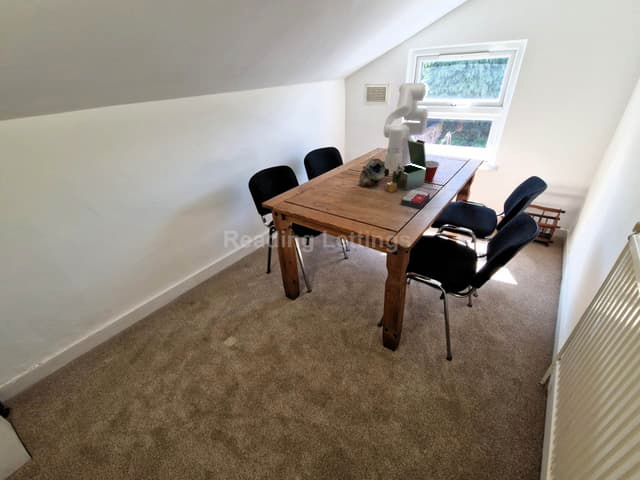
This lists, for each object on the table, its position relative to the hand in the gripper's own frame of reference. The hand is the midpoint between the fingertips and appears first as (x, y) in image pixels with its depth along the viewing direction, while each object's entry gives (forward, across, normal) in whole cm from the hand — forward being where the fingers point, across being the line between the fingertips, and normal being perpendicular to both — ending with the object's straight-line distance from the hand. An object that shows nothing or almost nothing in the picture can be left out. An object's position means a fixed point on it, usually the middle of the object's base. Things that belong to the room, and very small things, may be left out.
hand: (391, 178), depth 173 cm
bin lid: (-11, 0, +19) cm, 22 cm away
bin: (+8, 0, +15) cm, 17 cm away
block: (+8, 0, 0) cm, 8 cm away
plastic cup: (+8, +3, +30) cm, 31 cm away
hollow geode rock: (+8, -19, +2) cm, 21 cm away
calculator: (+8, +21, -1) cm, 22 cm away
